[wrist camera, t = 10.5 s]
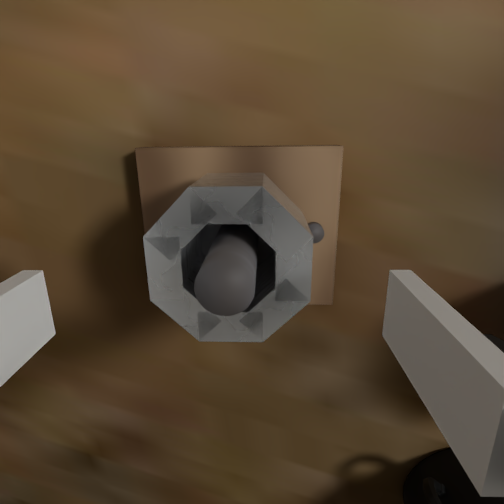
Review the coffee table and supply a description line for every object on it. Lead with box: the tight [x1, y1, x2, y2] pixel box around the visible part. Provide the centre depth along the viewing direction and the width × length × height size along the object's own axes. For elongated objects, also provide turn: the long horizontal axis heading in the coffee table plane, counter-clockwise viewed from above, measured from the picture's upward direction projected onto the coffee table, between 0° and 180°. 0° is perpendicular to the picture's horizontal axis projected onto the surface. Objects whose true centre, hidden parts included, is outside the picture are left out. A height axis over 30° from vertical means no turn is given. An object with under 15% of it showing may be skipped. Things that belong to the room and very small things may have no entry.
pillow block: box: [135, 145, 343, 316], centre depth 19 cm, size 12×10×10 cm
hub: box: [143, 173, 313, 342], centre depth 18 cm, size 7×7×5 cm
